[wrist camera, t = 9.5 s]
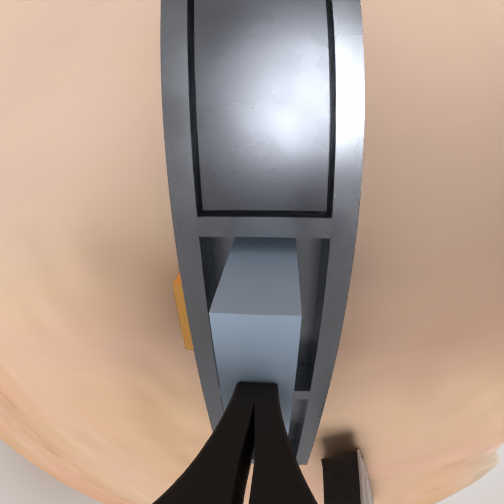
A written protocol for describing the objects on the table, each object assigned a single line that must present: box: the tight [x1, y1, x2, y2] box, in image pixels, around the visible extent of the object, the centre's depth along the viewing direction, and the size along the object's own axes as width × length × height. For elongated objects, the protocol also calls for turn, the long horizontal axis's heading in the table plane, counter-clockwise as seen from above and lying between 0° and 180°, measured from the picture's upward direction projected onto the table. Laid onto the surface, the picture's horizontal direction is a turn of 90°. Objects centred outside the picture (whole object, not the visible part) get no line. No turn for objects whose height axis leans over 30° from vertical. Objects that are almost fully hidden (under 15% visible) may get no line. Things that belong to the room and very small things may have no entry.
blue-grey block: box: [209, 237, 302, 435], centre depth 13 cm, size 3×7×6 cm, turn 1°
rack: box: [161, 0, 365, 465], centre depth 15 cm, size 8×30×3 cm, turn 1°
